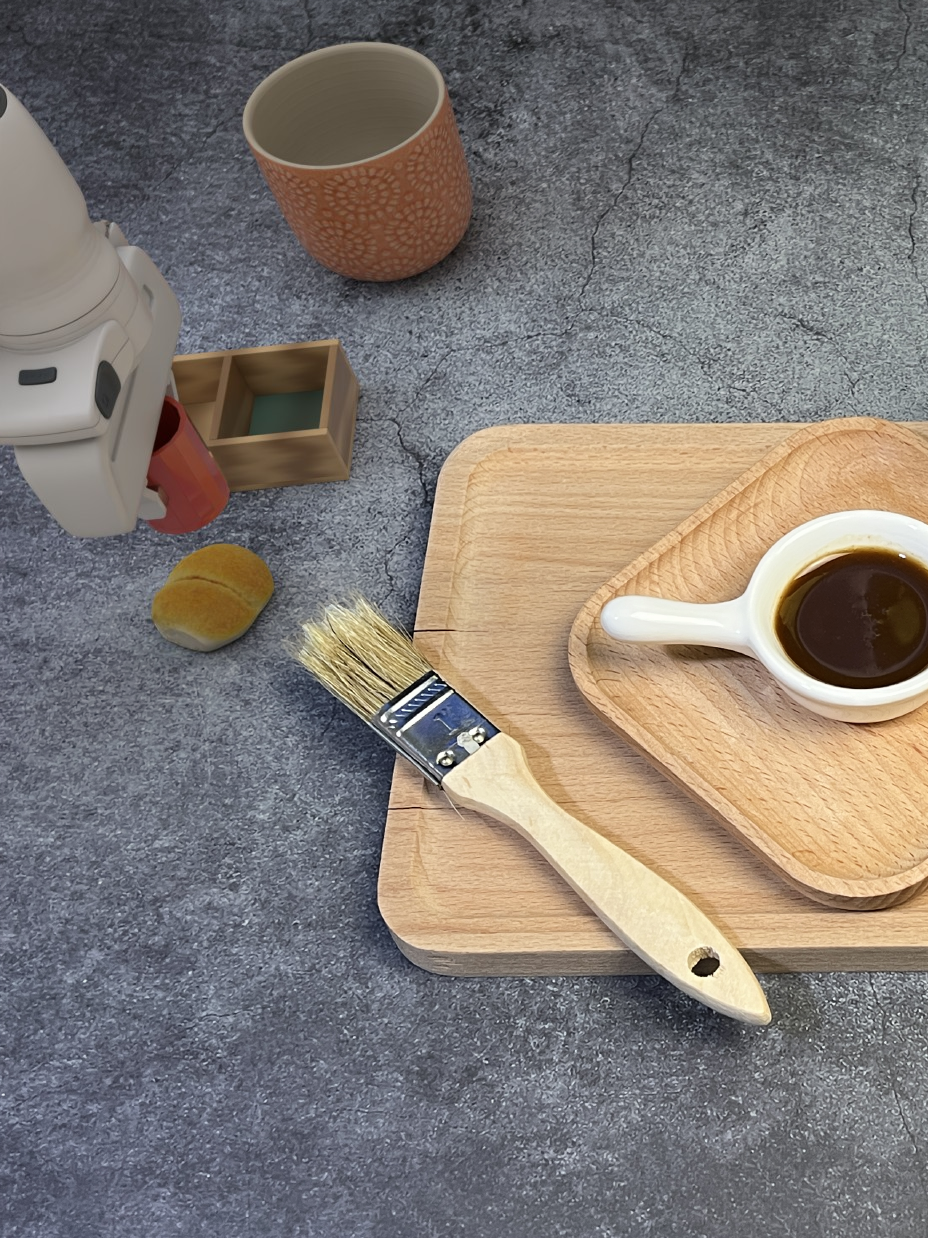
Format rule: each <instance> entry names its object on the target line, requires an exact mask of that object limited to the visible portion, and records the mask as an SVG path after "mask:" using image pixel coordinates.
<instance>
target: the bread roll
mask: <svg viewBox="0 0 928 1238" xmlns="http://www.w3.org/2000/svg"><path fill="white" fill-rule="evenodd" d="M274 593H275V583H274V579H273V575H272V573H271V571H270V568H269V567H268V565H267V564H266V562H265V561H264V560H263V559H262V558H261V557H259V556H258V555H257V554H256V553H255V552H253V551H252V550H250V549H248V548H246V547H244V546H241V545H239V544H233V543H214V544H210V545H207V546H205V547H201V548H199V549H197V550H195V551H194V552H192V553H190V554H188V555H186V556H185V557H183V558H182V559H180V561H178V563H177V564H176V565H175V566H174V567H173V569H172V571H170V574H169V575H168V577H167V580H166V581H165V582H164V585H163V587H161V588H160V589H159V590H158V591H157V592H156V593H155V594H154V597H153V600H152V604H151V610H150V611H151V613H150V614H151V619H152V622H153V624H154V626H155V628H156V629H157V630H158V632H159V633H160V634H161V636H162V638H163V639H164V640H167V641H169V642H171V643H173V644H176V645H178V646H180V647H182V648H185V649H190V650H193V651H199V652H211V651H212V652H213V651H216V650H217V649H220V648H222V647H225V646H226V645H229V644H231V643H232V642H234V641H236V640H237V639H240V638H241V637H242V636H244V634H245V633H247V631H248V630H249V629H250V628H251V626H253V624H254V622H255V621H256V619H258V616H259V615H260V613H261V611H263V610H264V609H265V607H266V606H267V605H268V603H269V601H270V600H271V599H272V596H273V594H274Z"/></svg>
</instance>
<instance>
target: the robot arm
mask: <svg viewBox="0 0 928 1238" xmlns="http://www.w3.org/2000/svg"><path fill="white" fill-rule="evenodd" d="M85 199H86V198H85V196H84V194H83V192H82V190H81V187H80V185H79V184H78V182H77V181H76V180H75V178H74V176H73V175H72V173H71V171H70V170H69V167H68V166H67V164H66V163H65V162H64V160H63V159H62V157H61V155H60V154H59V152H58V151H57V149H56V148H55V146H54V145H53V144H52V142H51V140H50V139H49V138H48V136H47V135H46V133H45V132H44V130H43V129H42V127H41V126H40V125H39V124H38V122H37V121H36V120H35V119H34V117H33V116H32V115H31V113H30V112H29V110H28V109H27V108H26V107H25V106H24V105H23V103H22V102H21V101H20V100H19V98H17V97H16V96H15V94H13V93H12V92H11V91H10V90H9V89H8V88H7V87H6V86H5V85H3V84H2V83H1V82H0V446H13V451H14V457H15V461H16V464H17V467H18V469H19V472H20V473H21V475H22V476H23V478H24V480H25V481H26V484H28V486H29V488H30V489H31V490H32V491H33V493H34V494H35V496H36V497H37V499H38V500H39V501H40V502H41V504H42V505H43V506H44V507H45V509H46V510H47V512H49V513H50V515H51V516H52V517H53V518H54V519H55V521H56V522H57V524H59V526H60V527H61V528H62V529H63V530H64V531H65V532H67V534H69V535H70V536H73V537H76V538H82V539H95V538H96V539H97V538H106V537H107V538H108V537H116V536H120V535H126V534H130V533H131V532H133V531H134V530H135V528H136V526H137V522H138V518H140V519H141V520H144V521H145V520H152V519H162V518H164V517H165V516H166V511H167V506H168V501H169V497H168V495H165V491H164V489H163V488H162V486H161V485H160V484H158V485H154V486H148V487H146V486H147V482H148V481H147V478H146V477H147V472H148V468H149V464H150V459H151V455H152V450H153V446H154V442H155V437H156V433H157V428H158V424H159V420H160V415H161V411H162V407H163V402H164V398H165V396H170V397H172V398H174V399H175V400H176V401H178V400H179V399H178V394H177V389H176V385H175V380H174V375H173V371H172V370H171V367H172V362H173V358H174V356H175V353H176V349H177V346H178V345H177V344H178V340H179V336H180V331H181V327H182V324H183V323H182V322H183V315H182V311H181V306H180V303H179V299H178V298H177V295H176V294H175V292H174V291H173V289H172V287H171V286H170V284H169V283H168V281H167V280H166V278H165V276H164V275H163V274H162V272H161V271H160V270H159V268H158V267H157V265H156V263H154V261H153V260H152V258H151V257H150V256H149V255H148V253H146V252H145V250H143V249H142V248H140V247H139V246H137V245H130V243H129V242H128V240H127V238H126V237H125V235H124V233H123V231H122V230H121V227H120V226H119V225H118V224H117V223H116V222H114V221H113V222H112V221H110V220H109V219H103V220H100V221H94V222H92V221H91V218H90V215H89V212H88V211H89V210H88V206H87V202H86V200H85ZM178 402H179V401H178Z"/></svg>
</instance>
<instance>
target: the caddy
mask: <svg viewBox="0 0 928 1238" xmlns="http://www.w3.org/2000/svg"><path fill="white" fill-rule="evenodd" d="M171 370H172V371H173V375H174V380H175V385H176V389H177V394H178V399H179V400H178V401H179V403H180V404H182V406H183V407H184V409H185V410H186V412H187V414H188V415H189V417H190V419H191V420H192V422H193V424H194V425H195V427H196V429H197V430H198V432H199V434H200V435H201V437H202V438H203V440H204V442H205V443H206V445H207V447H208V448H209V450H210V452H211V453H212V455H213V457H214V458H215V460H216V462H217V463H218V465H219V467H220V468H221V470H222V472H223V474H224V476H225V478H226V480H227V482H228V484H229V489H230V493H236V492H246V491H255V490H264V489H275V488H284V487H292V486H293V487H294V486H302V485H303V486H304V485H312V484H321V483H322V484H323V483H330V482H331V483H332V482H340V481H349V480H350V476H351V467H352V459H353V452H354V451H353V450H354V441H355V434H356V432H355V431H356V424H357V415H358V405H359V398H360V389H361V388H360V387H361V384H360V382H359V381H358V378H357V376H356V373H355V372H354V369H353V367H352V365H351V363H350V361H349V358H348V356H347V354H346V352H345V350H344V347H343V344H342V343H341V341H340V338H330V339H320V340H312V341H310V340H309V341H304V342H303V341H301V342H293V343H281V344H272V345H263V346H254V347H253V346H252V347H243V348H234V349H226V350H225V349H224V350H216V351H206V352H196V353H187V354H178V355H177V354H176V355H174V358H173V362H172V367H171Z"/></svg>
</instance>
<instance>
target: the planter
mask: <svg viewBox="0 0 928 1238" xmlns="http://www.w3.org/2000/svg"><path fill="white" fill-rule="evenodd" d="M242 131H243V134H244V138H245V139H246V141H247V144H248V146H249V149H250V151H251V153H252V155H253V157H254V159H255V161H256V163H257V165H258V167H259V169H260V171H261V173H262V175H263V177H264V179H265V181H266V183H267V185H268V187H269V189H270V191H271V194H272V196H273V198H274V200H275V202H276V204H277V205H278V208H279V210H280V211H281V214H282V215H283V217H284V219H285V221H286V222H287V224H288V226H289V228H290V231H292V233H293V234H294V236H295V238H297V240H298V242H299V243H300V245H301V246H302V248H303V249H304V250H305V251H306V252H307V254H309V255H310V257H311V258H313V260H314V261H316V262H318V263H319V264H320V265H321V266H323V267H324V268H326V269H327V270H329V271H331V272H333V273H335V274H338V275H340V276H343V277H345V278H349V279H353V280H356V281H363V282H375V283H377V282H379V283H381V282H393V281H399V280H404V279H407V278H408V279H409V278H410V277H411V278H412V277H414V276H416V275H419V274H421V273H424V272H425V271H428V270H429V269H431V268H433V267H435V266H436V265H438V264H439V263H440V262H441V261H443V260H444V259H445V258H446V257H447V256H449V254H451V252H452V251H453V250H454V249H455V248H456V247H457V246H458V244H459V243H460V241H461V240H462V239H463V237H464V235H465V233H466V231H467V229H468V226H469V224H470V220H471V218H472V217H471V216H472V211H473V190H472V189H473V188H472V181H471V175H470V171H469V166H468V161H467V157H466V152H465V149H464V145H463V141H462V137H461V134H460V131H459V127H458V124H457V121H456V117H455V112H454V109H453V105H452V103H451V98H450V94H449V91H448V88H447V85H446V82H445V79H444V76H443V74H442V72H441V70H440V69H439V68H438V66H437V65H435V63H434V62H433V61H432V60H430V59H429V58H428V57H427V56H425V55H424V54H422V53H420V52H418V51H416V50H414V49H412V48H409V47H406V46H402V45H400V44H399V45H398V44H395V43H390V42H389V43H388V42H379V41H359V42H349V43H340V44H336V45H331V46H327V47H324V48H320V49H316V50H313V51H311V52H308V53H305V54H303V55H300V56H298V57H296V58H295V59H292V60H290V61H289V62H286V63H285V64H283V65H282V66H281V67H279V68H277V69H276V70H274V71H273V72H272V73H270V74H269V75H268V76H267V77H266V78H265V79H263V81H262V82H261V83H259V84H258V85H257V86H256V87H255V89H254V90H253V92H252V94H251V95H250V96H249V98H248V99H247V102H246V104H245V106H244V110H243V113H242Z"/></svg>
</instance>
